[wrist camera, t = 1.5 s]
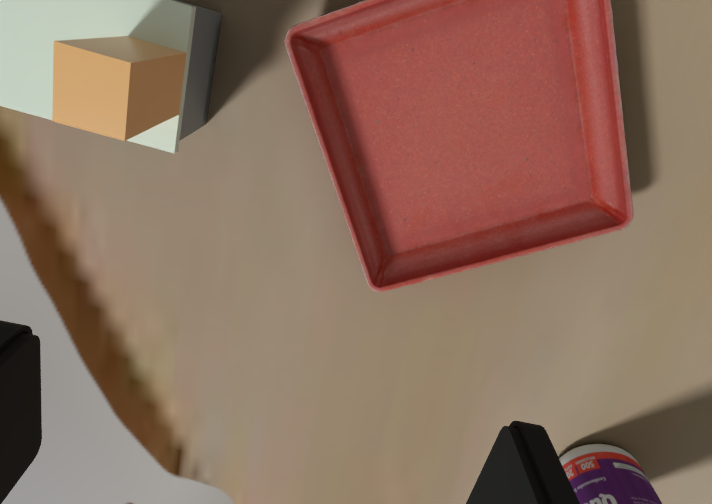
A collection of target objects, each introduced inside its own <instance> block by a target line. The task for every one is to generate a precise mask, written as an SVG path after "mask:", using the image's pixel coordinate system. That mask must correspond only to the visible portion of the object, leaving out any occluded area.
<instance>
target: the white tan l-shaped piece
mask: <svg viewBox="0 0 712 504" xmlns="http://www.w3.org/2000/svg"><path fill="white" fill-rule="evenodd" d="M195 13H196V7H194V6H191V5H188V4H184V3H181V2H178V1H174V0H0V106H2V107H6V108H10V109H13V110H17V111H21V112H24V113H28V114H32V115H35V116H39V117H43V118H46V119H50V120H52V121H53V122H57V123H60V124H64V125H68V126H71V127H75V128H79V129H82V130H86V131H90V132H93V133H97V134H101V135H104V136H108V137H112V138H115V139H119V140H123V141H126V140H127V141H131V142H134V143H138V144H142V145H145V146H149V147H153V148H156V149H160V150H164V151H167V152H171V153H176V152H177V151H178V148H179V140H180V132H181V124H182V116H183V108H184V100H185V92H186V84H187V76H188V68H189V60H190V53H191V45H192V37H193V29H194V21H195Z"/></svg>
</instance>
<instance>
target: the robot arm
mask: <svg viewBox="0 0 712 504" xmlns="http://www.w3.org/2000/svg"><path fill="white" fill-rule="evenodd" d="M40 372H41V369H40V339H39V337H38V336H36V335H33V334H32V330H31V328H30V327H29V326H26V325H21V324H15V323H10V322H5V321H0V504H1V503H2V502H3V500H4V499H5V498H6V496H7V495H8V494H9V492H10V491H11V490H12V488H13V487H14V486H15V484H16V483H17V481H18V480H19V479H20V477H21V476H22V475H23V473H24V472H25V471H26V469H27V468H28V467H29V465H30V464H31V463H32V461H33V460H34V458H35V457H36V455H37V453H38V451H39V448H40V445H41V439H42V430H41V375H40V374H41V373H40ZM466 504H580V503H579V500H578V498H577V496H576V494H575V492H574V490H573V488H572V485H571V483H570V481H569V479H568V477H567V475H566V473H565V471H564V468H563V466H562V464H561V462H560V460H559V458H558V456H557V454H556V451H555V449H554V447H553V445H552V443H551V441H550V439H549V436H548V434H547V432H546V430H545V429H544V427H542V426H540V425H535V424H530V423H525V422H520V421H513V422H512V423H511V424H510V426H509V427H508V426H504V427H503V428H502V429H501V431H500V433H499V435H498V437H497V439H496V441H495V443H494V445H493V447H492V450H491V452H490V454H489V456H488V458H487V460H486V462H485V464H484V467H483V469H482V471H481V473H480V475H479V477H478V479H477V482H476V484H475V486H474V488H473V490H472V492H471V494H470V496H469V499H468V501H467V503H466Z"/></svg>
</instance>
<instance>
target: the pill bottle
mask: <svg viewBox="0 0 712 504" xmlns="http://www.w3.org/2000/svg"><path fill="white" fill-rule="evenodd" d="M559 460H560V462H561V464H562V466H563V468H564V471H565V473H566V475H567V477H568V479H569V481H570V483H571V485H572V488H573V490H574V492H575V494H576V496H577V498H578V500H579V503H580V504H662V503H661V501H660V499H659V497H658V496H657V494H656V492H655V491H654V489H653V487H652V485H651V484H650V482H649V480H648V479H647V477H646V475H645V473H644V472H643V470H642V468H641V467H640V465H639V463H638V462H637V461H636V459H635V458H634V457H633V456H632V455H631V454H629V453H628V452H626V451H625V450H623V449H621V448H618V447H615V446H611V445H606V444H590V445H584V446H580V447H577V448H574V449H572V450H570V451H569V452H567V453H565V454H564V455H563V456H561V457H560V458H559Z"/></svg>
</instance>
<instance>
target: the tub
mask: <svg viewBox="0 0 712 504" xmlns="http://www.w3.org/2000/svg"><path fill="white" fill-rule="evenodd" d="M174 1H178V2H181V3H184V4H188V5H191V6H194V7H196V13H195V21H194V29H193V37H192V45H191V53H190V60H189V68H188V76H187V84H186V92H185V100H184V108H183V116H182V124H181V132H180V140H181V139H183V138H184V137H186V136H188V135H189V134H191V133H193V132H194V131H196V130H197V129H199V128H201V127H202V126H204V125H205V124H206V120H207V113H208V106H209V99H210V93H211V86H212V79H213V72H214V65H215V58H216V51H217V45H218V38H219V31H220V24H221V17H222V13H221V12H217V11H214V10H211V9H207V8H204V7H200V6H197V5H194V4H190V3H187V2H184V1H180V0H174ZM180 140H179V141H180Z"/></svg>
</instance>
